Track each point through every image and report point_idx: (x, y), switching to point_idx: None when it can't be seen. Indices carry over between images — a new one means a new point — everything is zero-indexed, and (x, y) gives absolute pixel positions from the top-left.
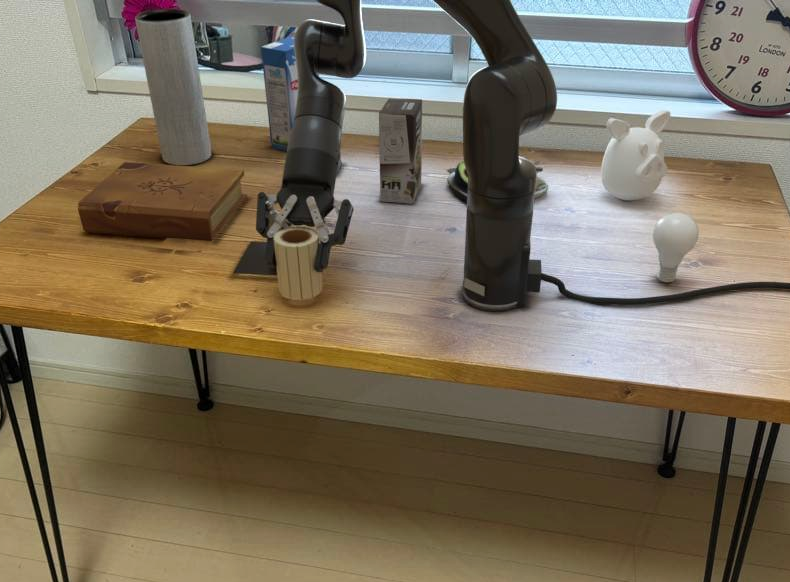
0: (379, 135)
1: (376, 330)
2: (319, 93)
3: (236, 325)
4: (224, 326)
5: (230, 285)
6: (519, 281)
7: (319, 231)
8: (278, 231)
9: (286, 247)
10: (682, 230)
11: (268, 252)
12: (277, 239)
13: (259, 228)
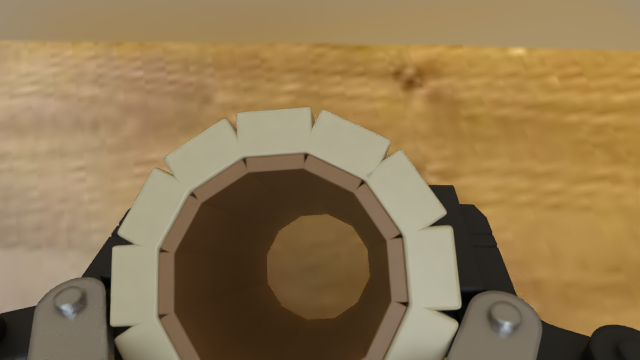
0: None
1: (56, 140)
2: None
3: (491, 90)
4: (527, 78)
5: None
6: None
7: (87, 346)
8: (449, 343)
9: (309, 108)
10: None
11: (472, 235)
12: (408, 197)
13: (633, 346)
